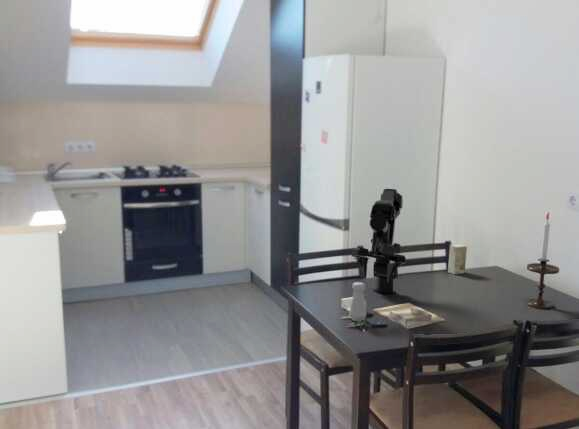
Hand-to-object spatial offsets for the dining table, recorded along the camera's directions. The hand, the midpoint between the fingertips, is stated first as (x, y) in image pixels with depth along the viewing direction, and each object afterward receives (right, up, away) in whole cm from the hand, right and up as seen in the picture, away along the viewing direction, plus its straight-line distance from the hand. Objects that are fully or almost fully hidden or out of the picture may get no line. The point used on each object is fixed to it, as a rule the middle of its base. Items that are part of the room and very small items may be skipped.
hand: (376, 280), depth 208 cm
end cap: (-8, -11, +5) cm, 14 cm away
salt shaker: (-7, -13, -6) cm, 16 cm away
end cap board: (+11, -12, -2) cm, 16 cm away
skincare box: (+43, -3, +52) cm, 67 cm away
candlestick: (+62, -10, +11) cm, 63 cm away
